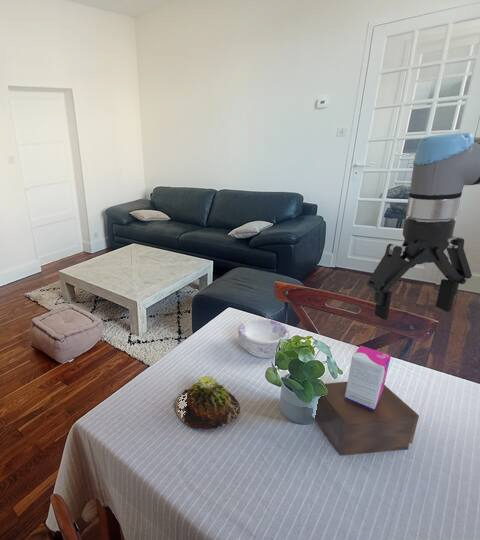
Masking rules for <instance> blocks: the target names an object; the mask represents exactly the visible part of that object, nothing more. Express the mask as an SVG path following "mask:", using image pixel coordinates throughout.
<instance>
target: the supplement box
mask: <svg viewBox="0 0 480 540" xmlns="http://www.w3.org/2000/svg"><path fill="white" fill-rule="evenodd" d="M391 357H392V355H391V354H389V353H386V352H382V351H379V350H376V349H373V348H369V347H366V346H363V345H359V347H358V348H357V350H356V351H355V352H354V353H353V355H352V356H351V360H350V361H351V362H350V366H349V371H348V377H347V381H348V382H347V381H346V382H347V387H346V392H345V397H344V399H346V400H348V401H351V402H353V403H356V404H358V405H361V406H363V407H365V408H368V409H370V410H373V411H374V410H375V407H376V405H377V403H378V401H379V400H380V398H381V396H382V392H383V388H384V385H385V383H386V379H387V374H388V371H389V366H390V362H391Z"/></svg>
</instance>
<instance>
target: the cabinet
mask: <svg viewBox="0 0 480 540" xmlns="http://www.w3.org/2000/svg"><path fill="white" fill-rule="evenodd" d="M347 382H348V380H347V381H338V382H329V383H324V384H325V386H326V387H327V389H328V394H327V395H324V396H321V397H320V398H319V399H318V404H317V410H316V415H315V420H314V422H315V423H316V424H317V426H318V427H319V428H320V430H321V431H322V432H323V434H324V435H325V437H326V438H327V439H328V441H329V442H330V444H331V445H332V447H333V448H334V449H335V451H336V452H337V453H338V455H339V456H350V455H351V456H352V455H361V454H363V455H364V454H373V453H382V452H394V451H404V450H409V446H410V444H411V443H410V439H411V435H412V431H413V427H414V423H415V419H416V414H415V413H414V412H413V411H414V410H413V409H412V408H411V409H412V410H413V411H412V410H411V409H409V408H408V407H407V406H406V405H405V404H404V403H405V402H404V401H403V400H402V401H403V402H404V403H403V402H402V401H400V400H399V399H398V398H397V397H396V396H395V395H396V394H395V393H394V392H393V393H394V394H395V395H394V394H393V393H391V392H390V391H389V390H388V389H387V388H386V387H387V386H386V385H385V386H386V387H385V386H384V388H383V392H382V396H381V398H380V400H379V401H378V403H377V405H376V407H375V410H374V411H373V410H370V409H368V408H365V407H363V406H361V405H358V404H356V403H353V402H351V401H348V400H346V399H344V397H345V392H346V387H347ZM409 443H410V444H409Z"/></svg>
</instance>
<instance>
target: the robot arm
mask: <svg viewBox="0 0 480 540" xmlns="http://www.w3.org/2000/svg"><path fill="white" fill-rule="evenodd" d="M413 159H414V160H413V162H412V166H413V167H412V174H411V182H410V187H409V194H408V198H407V205H406V211H405V216H406V217H407V218H405V219H404V222H403V228H402V236H403V238H404V241H403V243H402V244H393V243H388V244H387V246H386V247H385V248H386V249H385V251H384V252H385V253H384V254H383V256H382V258H381V260H380V261H379V262H378V264H377V266H376V267H375V269H374V271H372V274H371V275H370V277H369V279H368V280H367V282H366V284H365V286H366V287H368V288H370V289H372V290H374V291H375V292H374V297H373V303H374V304H375V308H374V315H375V316H376V317H378V318H380V319H382V320H383V321H387V320H388V318H389V314H390V313H389V312H390V307H391V300H392V291H391V288H392V287H393V286H395V284H396V283H397V282H398V281H399V280H400V279H401V278H402V277H403V276H404V275H405V274H406V273H407V272H408V271H409V270H410V269H412V268H414V267H415V266H417V265H423V264H425V263H426V264H431V263H433V264H434V265H435V266H436V267H437V268H438V270H439V271H440V272H441V274H442V275H443V276H444V277H445V278H442V279H441V280H440V283H439V284H440V285H439V289H438V294H437V299H436V302H435V307H436V308H438V309H440V310H443V311H444V312H446V313H448V312H452V307H453V303H454V297H455V296H456V295H457V293H458V289H459V286H460V285H464V284H466V282H467V280H470V279H471V278H472V275H473V274H472V271H471V268H470V265H469V261H468V258H467V254H466V251H465V249H464V248H465V239H464V238H463V237H459V236H454V232H455V228H456V227H455V226H456V220H455V218H457V217H458V213H459V209H460V208H459V207H460V203H461V198H462V194H463V190H464V187H465V186H475V185H477V186H478V185H480V136H477V137H475V136H474V134H473V133H470V132H459V133H447V134H446V133H445V134H436V135H435V134H434V135H429V136H426V137H424V138H422V139H421V140H420V141H419V142H418V144H417V148H416V150H415V154H414V158H413ZM445 250H446V252H447V254H448V256H447V254H446V253H445Z"/></svg>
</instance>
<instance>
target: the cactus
mask: <svg viewBox="0 0 480 540" xmlns="http://www.w3.org/2000/svg"><path fill="white" fill-rule="evenodd" d="M186 393H187V399H186V400H185V402H187V403H186V404H187V406H186V407H185V406H184V408H183V409H181V408H179V406H178V405H179V404H180V403H179V402H180V401H181V400H180V401H179V399H180V398H179V397H180V396H181V395H178V398H179V399H178V398H177V399H176V400H175V405H174V407H175V412H176V416H177V417H178V418H179V419H180V421H181V422H182V423H184V424H185V425H187V426H188V428H191V429H193V430H194V429H195V430H196V429H198V430H213V429H218V428H219V427H224V426H226V425H228V424H230V423H232V422H233V421H234V420H236V419H237V418H238V417H239V416H240V411H241V406H240V403H239V402H238V400H237V399H236V397H235V396H234V394H232V393H231V392H230V391H229V390H228V389H227V388H226V387H224V384H220V383H219V381H217V379H216V378H214V377H213V376H210V375H204V376H202V377H200V378H199V379H198V380H197V382H195V383H193V384H192V386H189V388H188V389H184V391H183V392H182V393H181V394H183V395H185V394H186ZM185 397H186V396H183V398H185ZM183 400H184V399H182V401H183ZM178 403H179V404H178ZM178 410H180V411H181V410H182V411H183V412H184V411H186V412H185V413H184V414H185V415H184V414H183V417H182V418H181V413H180V412H178Z"/></svg>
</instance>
